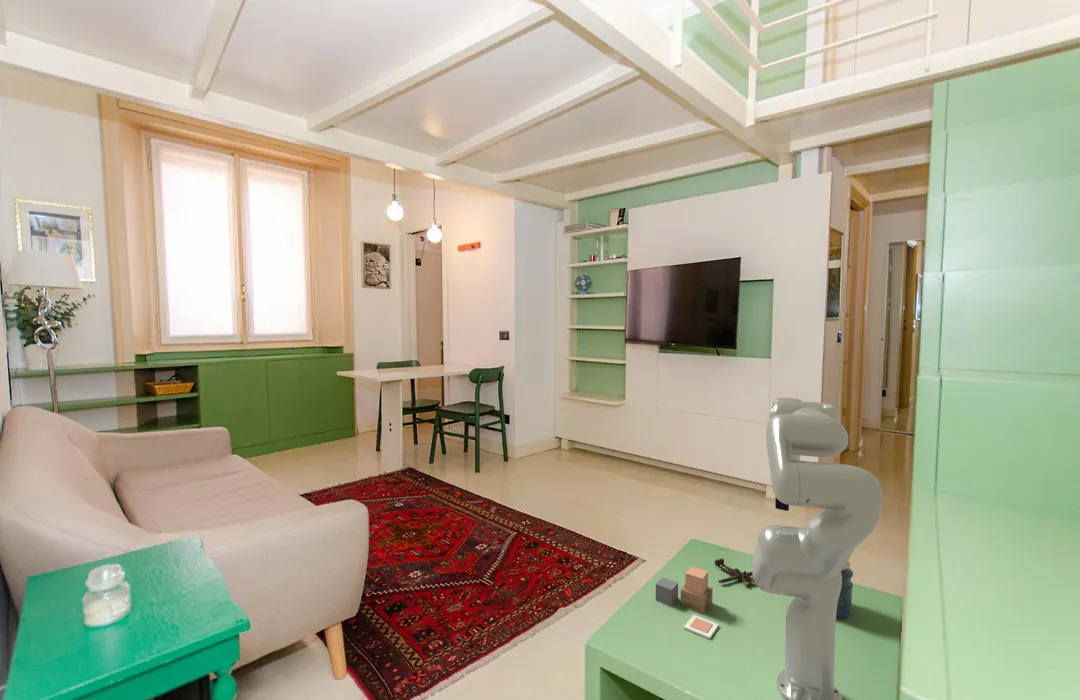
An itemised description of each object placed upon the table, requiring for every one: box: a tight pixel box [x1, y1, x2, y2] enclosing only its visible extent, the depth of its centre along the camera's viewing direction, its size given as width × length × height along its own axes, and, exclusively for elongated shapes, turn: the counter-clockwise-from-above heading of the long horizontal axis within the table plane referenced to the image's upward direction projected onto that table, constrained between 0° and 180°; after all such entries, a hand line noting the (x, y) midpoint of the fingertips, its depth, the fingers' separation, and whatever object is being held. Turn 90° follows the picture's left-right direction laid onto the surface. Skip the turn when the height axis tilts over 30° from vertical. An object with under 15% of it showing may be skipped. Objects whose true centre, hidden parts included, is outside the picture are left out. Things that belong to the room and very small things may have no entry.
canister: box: [836, 561, 854, 620], centre depth 136 cm, size 13×13×18 cm
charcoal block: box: [655, 577, 679, 607], centre depth 140 cm, size 5×5×5 cm
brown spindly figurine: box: [714, 558, 756, 586], centre depth 154 cm, size 18×4×14 cm
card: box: [683, 614, 720, 640], centre depth 127 cm, size 7×7×1 cm
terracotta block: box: [684, 566, 709, 596], centre depth 137 cm, size 5×5×5 cm
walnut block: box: [680, 584, 714, 615], centre depth 138 cm, size 7×7×5 cm
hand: (786, 504), depth 128 cm, fingers open, 9 cm apart
